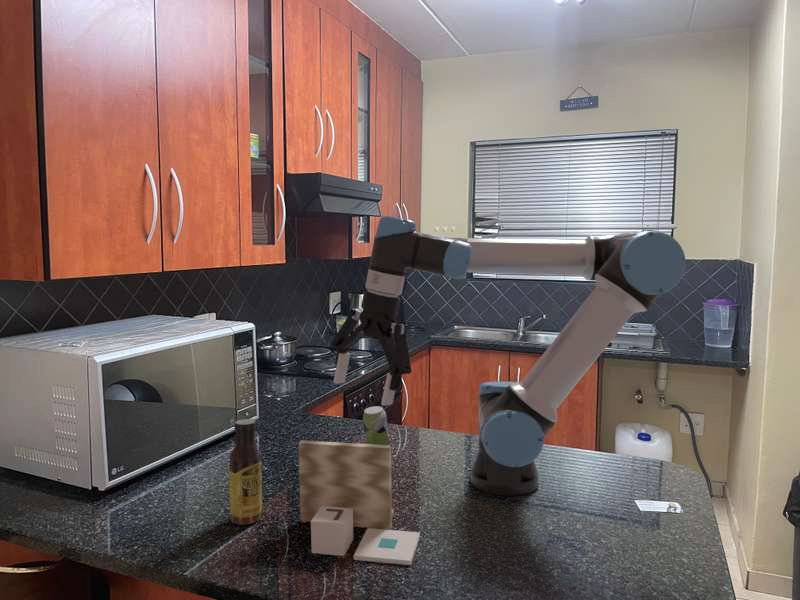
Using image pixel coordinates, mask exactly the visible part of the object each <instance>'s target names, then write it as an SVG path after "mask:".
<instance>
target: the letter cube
mask: <svg viewBox="0 0 800 600" xmlns="http://www.w3.org/2000/svg"><path fill="white" fill-rule="evenodd" d="M310 535H311V536H310V539H311V544H310V545H311V554H317V553H318V554H320V555H328V554H329V556H330V555H331V556H340V557H345V555H346V554H347V552H348V550H349V548H350V546H351V545H350V544H352V542H353V541H354V527H353V509H352V508H339V507H327V506H321V508H320V509H319V510H318V512H317V513H316V515H315V516H314V517H313V519H312V520H311V523H310ZM318 554H317V555H318Z"/></svg>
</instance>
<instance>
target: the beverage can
mask: <svg viewBox="0 0 800 600" xmlns="http://www.w3.org/2000/svg"><path fill="white" fill-rule="evenodd" d="M363 411H364V412H363V413H362V421H363V428H364V435H365V436H364V437H365V442H366V443H365V444H374V445H391V442H390V435H389V434H390V433H389V429H388V419H387V412H386V410H384V407H382V406H380V405H376V406H375V405H372V406H369V407H367V408H365V409H364V410H363Z"/></svg>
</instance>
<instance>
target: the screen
mask: <svg viewBox="0 0 800 600" xmlns="http://www.w3.org/2000/svg"><path fill="white" fill-rule="evenodd" d="M298 471H299V472H298V473H299V476H298V477H299V507H300V508H299V512H300V515H299V516H300V522H301V521H302V522H301V523H306V522H310V523H309V524H311V520H312V519H313V517H314V516H315V515H316V513H317V512H318V510H319V509H320V508H321V506H327V507H339V508H352V509H353V528H354V527H356V528H357V527H358V528H365V527H366V529H367V528H373V529H384V530H392V526H393V518H394V516H395V508H393V506H392V505H393V502H392V501H393V500H392V496H393V495H392V494H393V493H392V445H391V444H390V445H374V444H366V443H353V442H338V441H334V442H333V441H320V440H319V441H318V440H303V439H302V440H300V441H299V442H298Z"/></svg>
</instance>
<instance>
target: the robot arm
mask: <svg viewBox="0 0 800 600" xmlns="http://www.w3.org/2000/svg"><path fill="white" fill-rule="evenodd" d="M372 245H373V246H372V250H371V255H370V260H369V261H370V262H369V267H368V271H367V276H366V281H365V289H366V290H365V291H364V292H363V295H362V300H361V308H350V309H349V310H348V314H347V317H346V319H345V321H344V322H343V324H342V325H341V327H340V328H339V330H338V331H337V333H336V334H335V336H334V338H333V339H332V340H331V342H330V346H331V347H332V348H335V349H336V350H335V351H336V352H337V353H336V358H335V363H334V366H335V367H336V368H335V371H334V377H333V384H336V385H338V384H345V382H346V377H347V373H348V367H349V363H350V358H351V353H349V352H350V349H352V348H353V347H354V346H355V345H356V344H357V343H358V342H360V340H362V338H364V337H371V338H372V339H373V340H377V341H378V342H379V344H380V345H381V347H382V350H383V352H384V355H385V356H384V357H385V358H386V361H387V364H388V366H389V369H390V372H388V373H387V374H386V380H385V384H384V389H383V394H382V398H381V402H380V403H381V404H380V405H381V406H383V407H384V406H390V405H393V404H394V398H395V394H396V391H398V390H399V389H400V384H401V381H402V380H401V379H402V376H403V375H408V374H411V373H412V365H411V359H410V354H409V353H410V351H409V347H408V340H407V327H408V326H407V324H405V323H396V322H395V317H396V316H397V315H398V312H399V308H400V303H401V299H400V297H399V296H401V295H402V294H403V291H404V290H403V289H404V285H405V284H404V283H405V279H406V273H407V270H408V269H411V270H412V271H419V272H424V273H428V274H431V275H436V276H442V277H444V278H447V279H457V280H463V279H465V278H466V277H467V274H468V273H478V274H484V273H485V274H510V275H511V274H513V275H544V276H545V275H546V276H547V275H548V276H549V275H550V276H553V275H554V276H581V277H583V278H584V279H585V280H586V281H590V282H591V281H593V282H595V288H594V289H593V290H592V291H591V293H590V294H589V295H588V297H587V298H586V299H585V300H584V302H583V303H582V304H581V306H580V307H579V308H578V309H577V311H576V312H575V313H574V314H573V316H572V317H571V318H570V319H569V321H568V322H567V323H566V325H564V327H563V328H562V329H561V331H560V332H559V333H558V335H556V336H555V338H554V340H553V341H552V342H551V344H550V345H549V346H548V347H547V349H546V350H545V351H544V352H543V353H542V355H540V358H539V359H538V360H537V361H536V362H535V364H534V365H533V366H532V368H531V369H529V372H528V373H527V374H526V375H525V377H524V378H523V379H522V380H521V381H519V382H518V381H487V382H483V383H481V384H480V386H479V388H478V389H479V390H478V394H477V397H478V449H477V451H476V455H475V457H474V461H473V462H472V463H473V464H472V466H471V470H470V482H471V484H472V486H473V487H475V488H476V489H477V490H479V491H482V492H485V493H487V494H492V495H496V496H510V497H511V496H521V495H526V494H530V493H532V492H534V491H535V490H537V488H538V487H539V472H538V469H537V465H536V463H535V460H536V459H537V458H538V457H539V456H540V455H541V452H542V451H543V448H544V444H545V437H546V436H547V434H549V432H550V431H551V429H552V428H553V427H554V426H555V424H556V423H557V422H558V416H557V410H558V409H559V407H560V405H561V404H562V403H563V401H565V399H566V398H567V397H568V396H569V394H570V392H572V391H573V389H574V388H575V387H576V386H577V384H578V383H579V382H580V381H581V379H582V378H583V377H584V376H585V374H586V373H587V372H588V371H589V370H590V368H591V367H592V366H593V364H594V363H595V362H596V360H597V359H598V358H599V357H600V356H601V354H603V352H604V350H606V348H607V347H608V346H609V345H610V343H611V342H613V341H612V340H614V338H615V337H616V336H617V335H618V333H619V332H620V331H621V330H622V328H623V327H624V326H625V325H626V323H627V322H629V321H628V320H629V319H630V318H631V317H632V316H633V315H635V314H636V313H642V312H646V311H648V309H649V308H650V307H651V306H652V304H653V303H654V302H655V300H656V299H658V297H659V296H660V295H663V294H666V293H668V292H670V291H671V290H673V289H674V288H676V287H677V285H678V284H679V283H680V282H681V280H682V279H683V277H684V274H685V271H686V266H687V265H686V255H685V252H684V250H683V247H682V246H681V244H680V243H679V242H678V241H677V240H676V239H675V238H674V237H672V236H671V235H669V234H667V233H665V232H662V231H658V230H656V229H645V230H644V229H643V230H639V231H626V232H623V233H615V234H607V235H589V236H587V237H586V238H585V239H584V240H581V239H580V240H579V239H578V240H577V239H575V240H574V239H573V240H572V239H529V238H527V239H526V238H525V239H524V238H523V239H520V238H480V237H479V238H473V237H471V238H470V237H468V238H466V237H465V238H463V237H443V236H437V235H432V234H427V233H422V232H420V231H417V229H416V222H415V221H413V220H409V219H404V218H400V217H395V216H390V215H383V216H381V217H380V219H379V220H378V224H377V227H376V231H375V235H374V240H373V244H372ZM361 309H362V310H361ZM358 323H360V324H359V325H358V326H357V324H358ZM356 326H357V327H356ZM353 330H354V331H353ZM352 331H353V332H352Z"/></svg>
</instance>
